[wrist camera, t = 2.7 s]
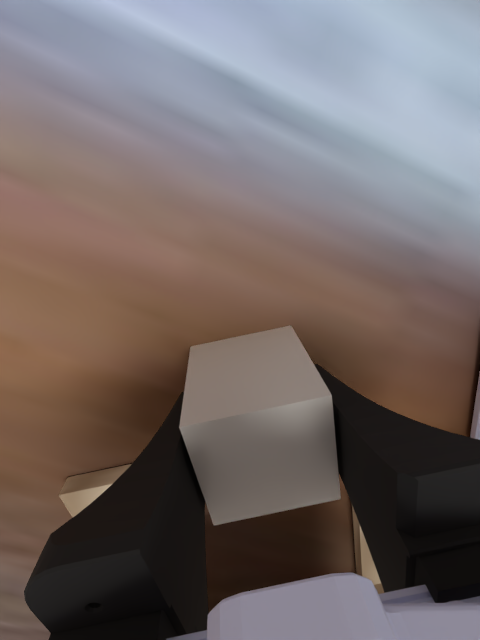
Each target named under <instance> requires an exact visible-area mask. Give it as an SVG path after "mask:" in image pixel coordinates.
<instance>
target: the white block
mask: <svg viewBox="0 0 480 640" xmlns="http://www.w3.org/2000/svg"><path fill="white" fill-rule="evenodd" d="M179 428H180V431H181V434H182V437H183V439H184V442H185V445H186V448H187V451H188V454H189V456H190V459H191V462H192V465H193V468H194V471H195V473H196V476H197V479H198V482H199V485H200V488H201V491H202V493H203V496H204V499H205V502H206V505H207V508H208V510H209V513H210V516H211V519H212V522H213V525H214V526H215V525H219V524H224V523H229V522H234V521H238V520H243V519H248V518H253V517H257V516H262V515H267V514H272V513H276V512H281V511H286V510H291V509H295V508H300V507H305V506H310V505H314V504H319V503H324V502H329V501H333V500H338V499H341V496H340V485H339V473H338V461H337V450H336V438H335V427H334V415H333V404H332V395H331V393H330V391H329V390H328V388H327V386H326V384H325V383H324V381H323V379H322V378H321V376H320V374H319V372H318V371H317V369H316V367H315V365H314V364H313V362H312V360H311V359H310V357H309V355H308V353H307V352H306V350H305V348H304V347H303V345H302V343H301V341H300V340H299V338H298V336H297V335H296V333H295V331H294V329H293V328H292V326H291V325H290V326H286V327H281V328H276V329H271V330H266V331H262V332H257V333H252V334H247V335H243V336H238V337H233V338H228V339H224V340H219V341H214V342H209V343H204V344H200V345H195V346H191V347H190V354H189V361H188V368H187V375H186V383H185V390H184V397H183V404H182V411H181V418H180V425H179Z"/></svg>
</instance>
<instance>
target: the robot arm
mask: <svg viewBox="0 0 480 640" xmlns="http://www.w3.org/2000/svg"><path fill="white" fill-rule="evenodd" d="M315 367H316V369H317V371H318V372H319V374H320V376H321V378H322V379H323V381H324V383H325V384H326V386H327V388H328V390H329V391H330V393H331V395H332V404H333V415H334V427H335V438H336V450H337V461H338V472H339V474H340V476H341V479H342V481H343V483H344V485H345V488H346V490H347V493H348V496H349V498H350V501H351V503H352V506H353V508H354V511H355V513H356V516H357V519H358V521H359V524H360V527H361V529H362V532H363V534H364V537H365V540H366V543H367V545H368V548H369V551H370V553H371V556H372V559H373V562H374V564H375V567H376V570H377V573H378V576H379V578H380V581H381V584H382V587H383V590H384V593H381V594H378V592H377V590H376V588H375V586H374V585H373V583H372V581H371V580H369V579H368V578H366V577H363V576H360V575H357V574H355V573H352V572H351V573H332V574H327V575H323V576H318V577H313V578H308V579H304V580H299V581H294V582H289V583H285V584H280V585H275V586H270V587H265V588H261V589H256V590H251V591H246V592H242V593H238V594H236V595H233V596H230V597H228V598H225V599H223V600H221V601H220V602H219V603H218V604H217V605H216V606H215V607H214V608H213V609H212V610H211V611H210V613H209V614H208V597H207V577H206V551H205V499H204V496H203V493H202V491H201V488H200V485H199V482H198V479H197V476H196V473H195V471H194V468H193V465H192V462H191V459H190V456H189V454H188V451H187V448H186V445H185V442H184V439H183V437H182V434H181V431H180V428H179V425H180V418H181V411H182V404H183V397H184V392H182V393H181V395H180V396H179V398H178V400H177V401H176V403H175V405H174V406H173V408H172V410H171V411H170V413H169V415H168V416H167V418H166V419H165V421H164V422H163V424H162V426H161V427H160V429H159V430H158V432H157V433H156V434H155V436H154V437H153V438H152V440H151V441H150V443H149V444H148V445H147V447H146V448H145V449H144V450H143V452H142V453H141V454H140V455H139V456H138V458H137V459H136V460H135V461H134V462H133V463H132V464H131V466H130V467H129V468H128V469H127V470H126V471H125V472H124V473H123V474H122V475H121V476H120V477H119V478H118V479H117V480H116V481H115V482H114V483H113V484H112V485H111V486H110V487H109V488H108V489H106V490H105V491H104V492H103V493H102V494H101V495H100V496H99V497H98V498H96V499H95V500H94V501H93V502H92V503H91V504H89V505H88V506H87V507H86V508H85V509H83V510H82V511H81V512H80V513H78V514H77V515H76V516H74V517H73V518H72V519H70V520H69V521H68V522H66V523H65V524H64V525H62V526H61V527H60V528H59V529H57V530H56V531H54V532H53V533H52V534H51V535H50V537H49V539H48V541H47V543H46V545H45V547H44V549H43V551H42V553H41V555H40V557H39V559H38V562H37V564H36V566H35V568H34V570H33V572H32V574H31V577H30V579H29V581H28V583H27V586H26V588H25V591H24V595H25V601H26V603H27V605H28V606H29V608H30V610H31V611H32V612H33V613H34V614H35V616H36V617H37V618H38V619H39V620H40V621H41V622H42V623H43V625H44V626H45V627H46V628H47V629H48V630H49V631H50V633H51V635H50V638H49V640H480V373H479V380H478V387H477V393H476V400H475V407H474V414H473V420H472V427H471V434H470V437H466V436H462V435H458V434H454V433H451V432H447V431H444V430H441V429H438V428H435V427H431V426H428V425H426V424H423V423H420V422H417V421H415V420H412V419H410V418H407V417H405V416H402V415H400V414H397V413H395V412H393V411H391V410H389V409H387V408H385V407H382V406H380V405H378V404H376V403H375V402H373V401H371V400H369V399H367V398H366V397H364V396H362V395H360V394H359V393H357V392H356V391H354V390H352V389H351V388H349V387H348V386H347V385H345V384H344V383H342V382H341V381H339V380H338V379H336V378H335V377H334V376H332V375H331V374H330V373H328V372H327V371H326V370H324V369H323V368H322V367H320V366H319V365H318V364H315Z"/></svg>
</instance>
